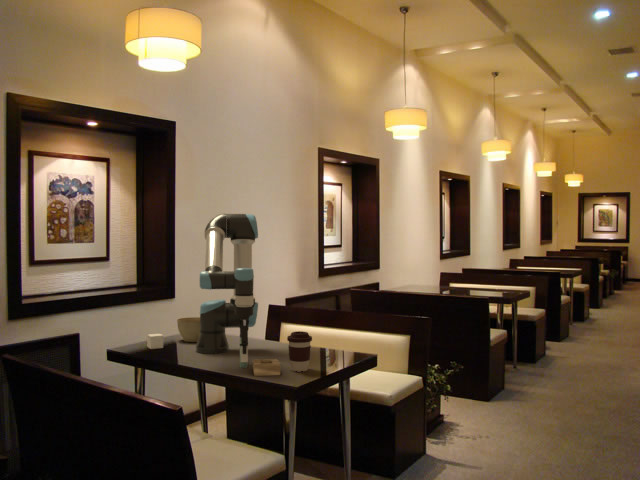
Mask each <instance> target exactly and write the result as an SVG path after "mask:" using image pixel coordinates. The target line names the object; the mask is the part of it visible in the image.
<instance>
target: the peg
mask: <svg viewBox="0 0 640 480" xmlns="http://www.w3.org/2000/svg"><path fill="white" fill-rule="evenodd" d="M240 344H241V337H240V336H239V368H241V369H245V368H247V367H248V362H241V346H240Z"/></svg>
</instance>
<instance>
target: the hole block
mask: <svg viewBox="0 0 640 480" xmlns="http://www.w3.org/2000/svg"><path fill="white" fill-rule="evenodd" d="M252 371H253V376H254V377H255V376H256V377H257V376H261V377H262V376H280V375H281V363H280V360H279V359H278V358H262V359H261V358H260V359H257V358H256V359H252Z"/></svg>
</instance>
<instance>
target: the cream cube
mask: <svg viewBox="0 0 640 480" xmlns="http://www.w3.org/2000/svg"><path fill="white" fill-rule="evenodd" d="M146 340H147V343H146V344H147V345H146V346H147V348H148V349H150V350H156V349H163V348H164V335H163V334H161V333H150V334H147V336H146Z"/></svg>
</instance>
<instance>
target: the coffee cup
mask: <svg viewBox="0 0 640 480" xmlns="http://www.w3.org/2000/svg"><path fill="white" fill-rule="evenodd" d="M286 339H287V342H288V359H289V369H290V371H292V372H296V371H297V372H299V373H300V372H301V371H303V372H307V371H308V370H309V364H310V359H311V342H313V336H311V335H310V334H309V332H307V331H293V332H291V333H290V335H287V337H286ZM301 373H302V372H301Z"/></svg>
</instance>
